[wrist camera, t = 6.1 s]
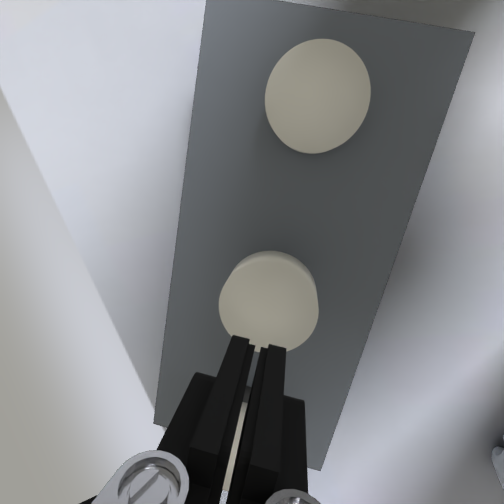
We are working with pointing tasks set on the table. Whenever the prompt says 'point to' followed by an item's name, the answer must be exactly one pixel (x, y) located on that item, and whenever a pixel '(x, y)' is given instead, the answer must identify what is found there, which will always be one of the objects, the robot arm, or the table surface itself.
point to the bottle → (499, 462)
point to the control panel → (300, 192)
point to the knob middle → (270, 301)
